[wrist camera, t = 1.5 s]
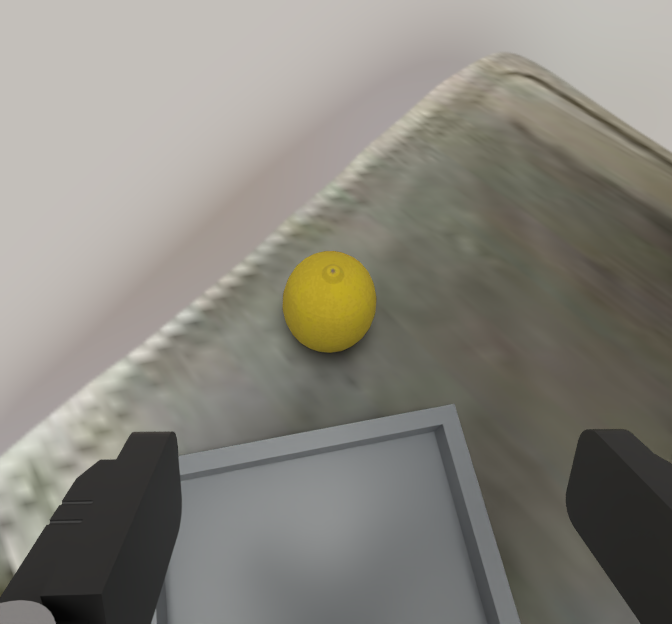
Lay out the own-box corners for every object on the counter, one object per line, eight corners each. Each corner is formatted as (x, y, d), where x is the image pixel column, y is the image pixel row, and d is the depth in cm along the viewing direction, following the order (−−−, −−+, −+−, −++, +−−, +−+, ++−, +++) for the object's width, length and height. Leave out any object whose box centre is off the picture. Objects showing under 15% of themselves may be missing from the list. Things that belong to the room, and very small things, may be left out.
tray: (441, 415, 32) (454, 403, 29) (517, 681, 26) (542, 697, 23) (145, 472, 29) (129, 465, 26) (159, 780, 23) (140, 811, 21)
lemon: (283, 294, 34) (278, 227, 27) (363, 291, 35) (379, 225, 28) (285, 371, 32) (281, 321, 25) (371, 367, 33) (391, 316, 25)
